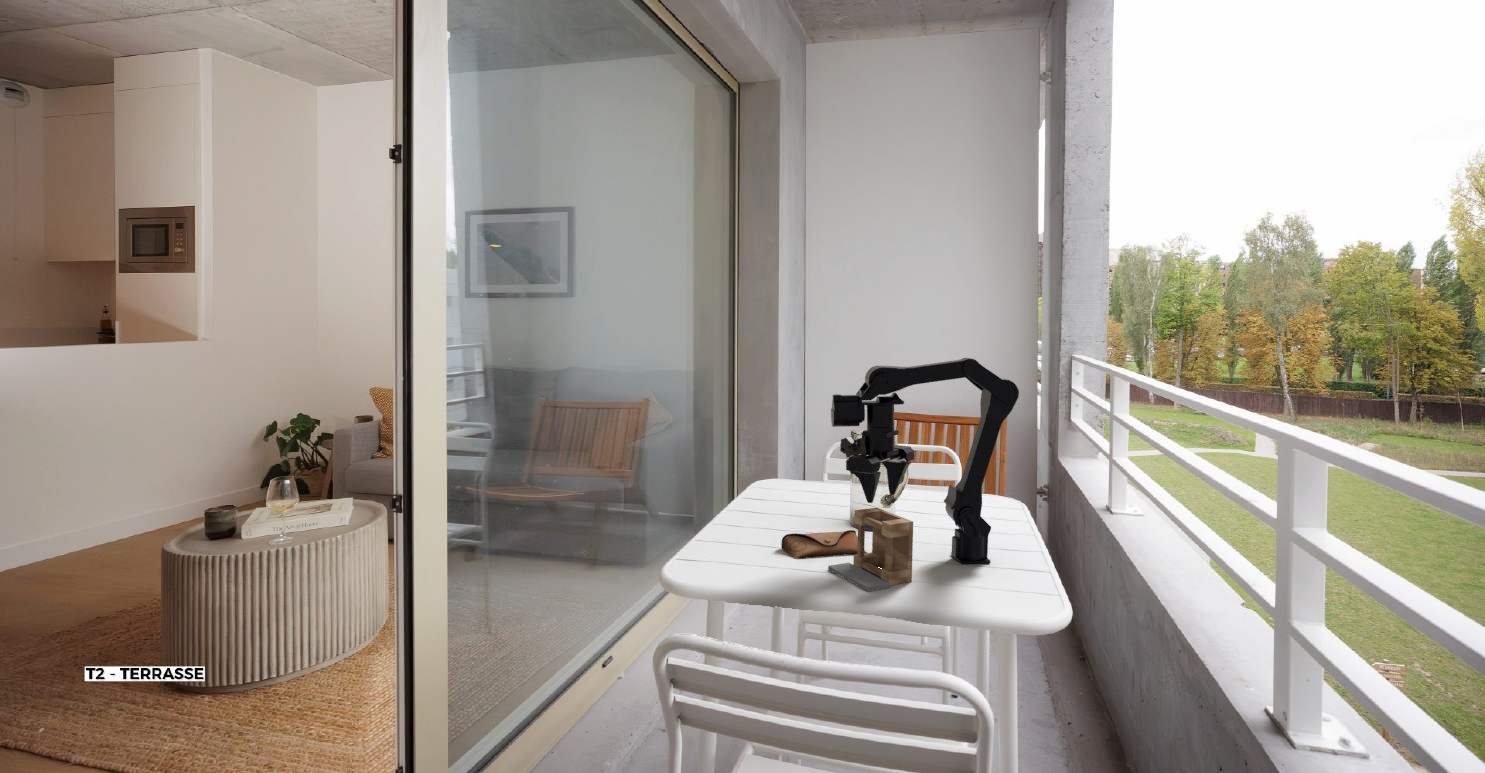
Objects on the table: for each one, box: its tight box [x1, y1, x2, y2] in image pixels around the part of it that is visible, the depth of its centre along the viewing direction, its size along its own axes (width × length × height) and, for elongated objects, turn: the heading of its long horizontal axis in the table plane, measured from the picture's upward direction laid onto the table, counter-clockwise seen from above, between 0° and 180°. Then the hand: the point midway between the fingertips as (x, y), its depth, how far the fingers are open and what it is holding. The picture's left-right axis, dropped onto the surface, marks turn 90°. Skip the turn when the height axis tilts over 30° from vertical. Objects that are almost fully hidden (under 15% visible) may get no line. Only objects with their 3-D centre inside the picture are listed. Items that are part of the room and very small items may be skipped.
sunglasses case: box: [781, 529, 869, 560], centre depth 171 cm, size 18×7×7 cm, turn 105°
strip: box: [827, 562, 891, 592], centre depth 153 cm, size 5×14×1 cm, turn 26°
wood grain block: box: [852, 507, 914, 586], centre depth 155 cm, size 6×12×12 cm, turn 26°
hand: (881, 498), depth 165 cm, fingers open, 9 cm apart
